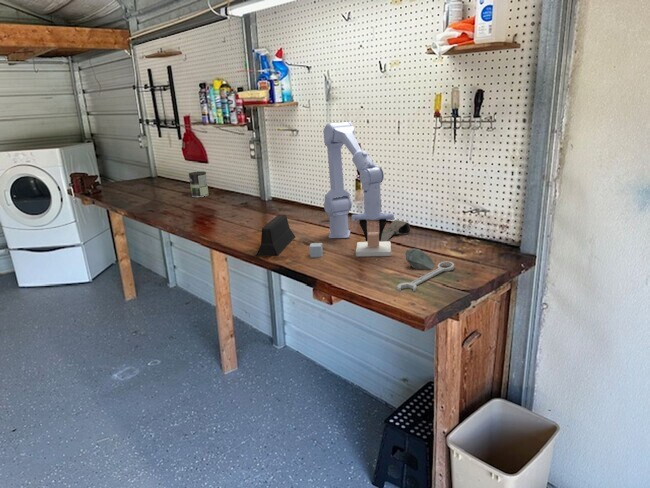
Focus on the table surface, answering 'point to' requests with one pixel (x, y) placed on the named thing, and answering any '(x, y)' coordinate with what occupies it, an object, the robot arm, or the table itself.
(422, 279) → the wrench
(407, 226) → the axe head
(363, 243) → the base board
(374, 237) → the terracotta block
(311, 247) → the grey blue block
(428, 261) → the stone
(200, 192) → the coffee can
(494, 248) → the table surface
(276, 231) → the barrier
